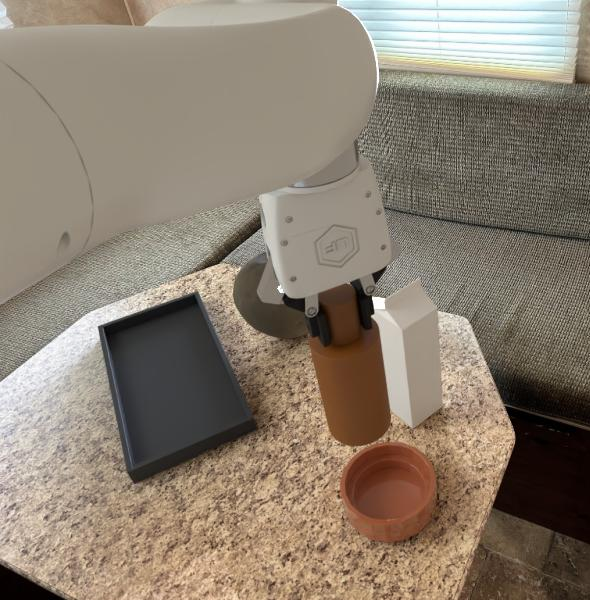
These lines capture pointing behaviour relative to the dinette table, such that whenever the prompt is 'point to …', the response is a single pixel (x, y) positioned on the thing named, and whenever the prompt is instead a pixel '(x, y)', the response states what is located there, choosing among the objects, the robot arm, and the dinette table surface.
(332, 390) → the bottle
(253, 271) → the dark grey rock
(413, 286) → the milk
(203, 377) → the tray
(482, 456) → the dinette table surface
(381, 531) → the bowl
